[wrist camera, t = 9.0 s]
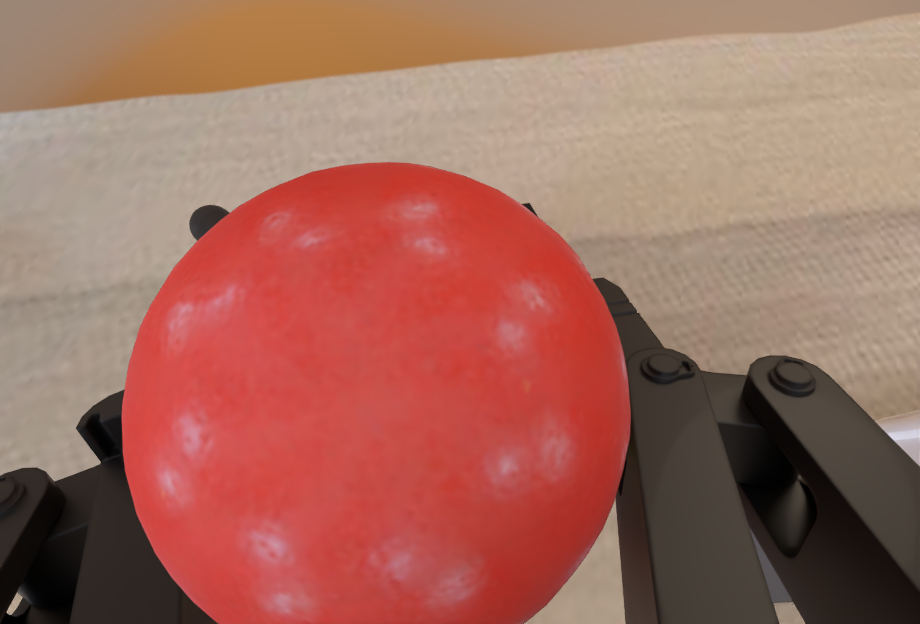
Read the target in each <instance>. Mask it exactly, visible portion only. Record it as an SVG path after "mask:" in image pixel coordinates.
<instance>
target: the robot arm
mask: <svg viewBox="0 0 920 624" xmlns="http://www.w3.org/2000/svg"><path fill="white" fill-rule="evenodd" d="M522 205H523V206H525V207H526V208H527V209H529V210H530V211H531V212H532V213H533V214H535V215H536V216H537V214H536V213H535V211H534V210H533V208H532V206H531V205H530V203H527V204H522ZM537 217H538V216H537ZM593 281H594V283H595V284H596V286H597V288H598V289H599V291H600V293H601V294H602V296H603V298H604V299H605V302H606V304H607V306H608V309H609V311H610V313H611V315H612V318H613V320H614V322H615V325H616V327H617V331H618V334H619V338H620V341H621V345H622V349H623V352H624V358H625V363H626V369H627V375H628V385H629V397H630V409H631V420H630V439H629V444H628V449H627V454H626V459H625V464H624V469H623V473H622V476H621V480H620V483H619V486H618V490H617V493H616V509H617V521H618V534H619V546H620V559H621V571H622V583H623V596H624V608H625V620H626V624H779V621H778V618H777V615H776V611H775V608H774V605H773V602H772V598H771V595H770V592H769V589H768V586H767V582H766V579H765V576H764V573H763V569H762V566H761V563H760V560H759V557H758V553H757V550H756V547H755V544H754V540H753V537H752V534H751V531H752V532H753V534H754V536H755V537H756V539H757V541H758V543H759V544H760V546H761V548H762V549H763V551H764V553H765V555H766V556H767V558H768V560H769V562H770V563H771V565H772V567H773V568H774V570H775V572H776V574H777V575H778V577H779V579H780V580H781V582H782V584H783V586H784V587H785V589H786V591H787V592H788V594H789V596H790V598H791V599H792V601H793V603H794V604H795V606H796V608H797V610H798V611H799V613H800V615H801V616H802V618H803V620H804V622H805V623H806V624H920V466H919V465H918V464H917V463H916V462H915V461H914V460H913V459H912V458H911V457H910V456H909V455H908V454H907V453H906V452H905V451H904V450H903V449H902V448H901V447H900V446H899V445H898V444H897V443H896V442H895V441H894V440H893V439H892V438H891V437H890V436H889V435H888V434H887V433H886V432H885V431H884V430H883V429H882V428H881V427H880V426H879V425H878V424H877V423H876V422H875V421H874V420H873V419H872V418H871V417H870V416H869V415H868V414H867V413H866V412H865V411H864V410H863V409H862V408H861V407H860V406H859V405H858V404H857V403H856V402H855V401H854V400H853V399H852V398H851V397H850V396H849V395H848V394H847V393H846V392H845V391H844V390H843V389H842V388H841V387H840V386H839V385H838V384H837V383H836V382H835V381H834V380H833V379H832V378H831V377H830V376H829V375H828V374H826V373H825V372H824V371H822V370H821V369H820V368H818V367H817V366H815V365H813V364H810V363H808V362H806V361H804V360H801V359H797V358H792V357H788V356H766V357H762V358H758V359H757V360H756V361H755V362H753V363H752V364H751V365H750V368H749V371H748V374H747V375H734V374H722V373H712V372H706V371H701V370H700V369H699V367H698V366H697V364H696V362H694V361H693V360H692V359H690V358H689V357H688V356H686V355H685V354H682V353H680V352H677V351H675V350H672V349H666V348H664V347H663V345H662V344H661V343H660V341H659V340H658V339H657V337H656V336H655V335H654V333H653V332H652V330H651V329H650V328H649V326H648V325H647V324H646V322H645V321H644V320H643V318H642V317H641V316H640V314H639V313H637V310H636V309H635V307H634V306H633V305H632V303H629V299H628V298H627V297H626V295H625V294H624V293H623V291H622V290H621V289H620V287H618V286H616V285H615V284H613V283H611V282H610V281H608V280H606V279H605V278H597V279H593ZM124 391H125V390H122V391H120V392H117V393H115V394H113V395H110V396H108V397H107V398H105V399H103V400H102V401H100V402H99V403H97V404H96V405H94V406H93V407H92V408H91V409H90V410H89V411H88V412H87V413H86V414H84V415H83V416H82V418H81V420H80V421H79V423H78V425H77V427H76V429H77V431H78V432H79V433H80V435H81V436H82V437H83V439H84V440H85V441H86V443H87V444H88V445H89V447H90V448H91V449H92V451H93V452H94V453H95V455H96V456H97V457H98V459H99V460H100V461H101V463H100V465H97V466H95V467H93V468H90V469H87V470H85V471H82V472H79V473H77V474H74V475H71V476H69V477H66V478H63V479H61V480H58V481H55V482H54V481H53V480H52V479H51V477H50V476H49V475H48V474H47V473H46V472H45V471H43V470H41V469H38V468H21V469H18V470H15V471H12V472H8V473H5V474H3V475H1V476H0V624H218V623H217V622H216V621H214V620H213V619H212V618H211V617H210V616H209V615H207V614H206V613H205V612H204V611H203V610H202V609H201V608H200V607H198V606H197V605H196V604H195V603H194V602H193V601H192V600H191V599H190V598H189V597H188V596H187V594H186V593H185V592H184V591H183V590H182V589H181V588H180V586H179V585H178V584H177V583H176V582H175V581H174V580H173V579H172V577H171V576H170V574H169V573H168V571H167V570H166V568H165V567H164V566H163V564H162V563H161V561H160V560H159V558H158V557H157V555H156V554H155V552H154V550H153V547H152V545H151V543H150V541H149V539H148V537H147V535H146V533H145V531H144V529H143V527H142V524H141V522H140V520H139V518H138V516H137V513H136V510H135V506H134V502H133V498H132V495H131V491H130V487H129V484H128V480H127V476H126V472H125V465H124V457H123V439H122V403H123V397H124ZM750 529H751V531H750ZM16 593H18V594H20V595H21V596H22V597H23V598H22V600H21V602H20V604H19V606H18V607H17V609H16V610H15V611H14V612H13V614H12V615H8V614H7V613H6V612H7V610H8V608H9V606H10V604H11V602H12V600H13V599H14V597H15V595H16Z"/></svg>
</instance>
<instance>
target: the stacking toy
mask: <svg viewBox="0 0 920 624" xmlns="http://www.w3.org/2000/svg"><path fill="white" fill-rule="evenodd" d="M630 420H631V409H630V397H629V385H628V375H627V369H626V363H625V358H624V352H623V349H622V345H621V341H620V338H619V334H618V331H617V327H616V325H615V322H614V320H613V318H612V315H611V313H610V311H609V309H608V306H607V304H606V302H605V299H604V298H603V296H602V294H601V293H600V291H599V289H598V288H597V286H596V284H595V283H594V281H593V279H592V278H591V276H590V274H589V273H588V271H587V269H586V268H585V266H584V264H583V263H582V261H581V259H580V258H579V256H578V255H577V254H576V253H575V252H574V251H573V250H572V248H571V247H570V246H569V245H568V244H567V243H566V242H565V241H564V239H563V238H562V237H561V236H560V235H559V234H558V233H557V232H555V231H554V230H553V229H552V228H551V227H549V226H548V225H547V224H546V223H544V222H543V221H542V220H541V219H540V218H538V217H537V216H536V215H535V214H533V213H532V212H531V211H530V210H529V209H527V208H526V207H525V206H523V205H522V204H520V203H519V202H517V201H515V200H514V199H512V198H510V197H509V196H507V195H506V194H504V193H502V192H501V191H499V190H497V189H495V188H492V187H490V186H487V185H485V184H483V183H480V182H478V181H475V180H473V179H471V178H468V177H466V176H463V175H459V174H456V173H452V172H448V171H445V170H441V169H437V168H434V167H430V166H424V165H417V164H411V163H394V162H387V163H364V164H354V165H345V166H339V167H334V168H329V169H324V170H319V171H314V172H310V173H308V174H305V175H303V176H300V177H298V178H295V179H293V180H290V181H288V182H285V183H283V184H280V185H278V186H276V187H274V188H271V189H269V190H267V191H265V192H263V193H261V194H260V195H258V196H256V197H254V198H253V199H251V200H249V201H247V202H245V203H244V204H242V205H240V206H239V207H237V208H236V209H235V210H233V211H232V212H231V213H229V214H228V215H227V216H225V217H224V218H223V219H221V220H220V221H219V222H218V223H217V224H216V225H215V226H213V227H212V228H211V229H210V230H209V231H208V232H207V233H206V234H204V235H203V236H202V237H201V238H200V239H199V240H198V241H197V242H196V243H195V244H194V245H193V246H192V248H191V249H190V250H189V251H188V252H187V253H186V254H185V256H184V257H183V258H182V259H181V260H180V261H179V262H178V263H177V265H176V266H175V267H174V268H173V270H172V271H171V273H170V275H169V276H168V278H167V279H166V281H165V283H164V284H163V286H162V288H161V289H160V291H159V292H158V294H157V296H156V297H155V299H154V301H153V302H152V304H151V305H150V307H149V310H148V312H147V314H146V316H145V318H144V320H143V322H142V324H141V326H140V329H139V332H138V335H137V339H136V342H135V345H134V349H133V352H132V355H131V358H130V362H129V366H128V372H127V378H126V385H125V391H124V397H123V403H122V439H123V457H124V465H125V472H126V476H127V480H128V484H129V487H130V491H131V495H132V498H133V502H134V506H135V510H136V513H137V516H138V518H139V520H140V522H141V524H142V527H143V529H144V531H145V533H146V535H147V537H148V539H149V541H150V543H151V545H152V547H153V550H154V552H155V554H156V555H157V557H158V558H159V560H160V561H161V563H162V564H163V566H164V567H165V568H166V570H167V571H168V573H169V574H170V576H171V577H172V579H173V580H174V581H175V582H176V583H177V584H178V585H179V586H180V588H181V589H182V590H183V591H184V592H185V593H186V594H187V596H188V597H189V598H190V599H191V600H192V601H193V602H194V603H195V604H196V605H197V606H198V607H200V608H201V609H202V610H203V611H204V612H205V613H206V614H207V615H209V616H210V617H211V618H212V619H213V620H214V621H216V622H217V623H218V624H523V623H525V622H527V621H528V620H529V619H531V618H532V617H533V616H534V615H535V614H536V613H538V612H539V611H540V610H541V609H542V608H544V607H545V606H546V605H547V604H548V603H549V602H550V600H551V599H552V598H553V597H554V596H555V595H556V593H557V592H558V591H559V590H560V589H561V588H562V586H563V585H564V584H565V583H566V582H567V581H568V579H569V578H570V577H571V576H572V575H573V573H574V572H575V571H576V569H577V568H578V566H579V565H580V564H581V562H582V561H583V560H584V558H585V557H586V555H587V554H588V553H589V551H590V549H591V548H592V546H593V544H594V543H595V541H596V539H597V538H598V536H599V534H600V533H601V531H602V529H603V527H604V525H605V522H606V520H607V517H608V515H609V513H610V510H611V508H612V505H613V503H614V500H615V497H616V493H617V490H618V486H619V483H620V480H621V476H622V473H623V469H624V464H625V459H626V454H627V449H628V444H629V439H630Z"/></svg>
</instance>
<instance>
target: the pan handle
mask: <svg viewBox="0 0 920 624" xmlns="http://www.w3.org/2000/svg"><path fill="white" fill-rule="evenodd" d="M228 214H229V212H228V211H227V210H225V209H223V208H222V207H219V206H215V205H206V206H203V207H200V208H198V209H197V210H196V211H195V212H194V213H193V214H192V216H191V219H190V230H191V233H192V235H193V236H194V238H195V239H196V240H197V241H198V240H199V239H200V238H201V237H202V236H203V235H204V234H206V233H207V232H208V231H209V230H210V229H211V228H212V227H213V226H215V225H216V224H217V223H218V222H219V221H220V220H221V219H223V218H224V217H225V216H227V215H228Z"/></svg>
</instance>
